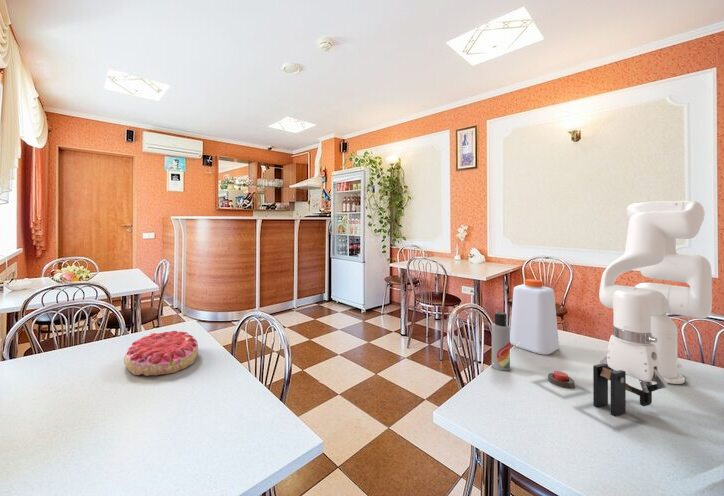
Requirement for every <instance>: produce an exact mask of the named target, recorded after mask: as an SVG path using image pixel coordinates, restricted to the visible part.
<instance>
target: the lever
mask: <svg viewBox="0 0 724 496" xmlns="http://www.w3.org/2000/svg"><path fill="white" fill-rule="evenodd" d="M610 372H613V371H612V370H609V369H606V368H604V367H603V369H602V371H601V374H600V375H601V376H602V377H604V378H605V379H607V380H608V381H610V382H611V374H610ZM626 391H627V392H630V393H632V394H634V395H636V396H639V397H640V391H642V389H640V388H637V387H635V386H632V385H630V384H628V383H627V382H626Z"/></svg>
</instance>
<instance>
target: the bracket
mask: <svg viewBox="0 0 724 496" xmlns="http://www.w3.org/2000/svg"><path fill="white" fill-rule="evenodd" d="M592 366H593V367H592V368H593V372H592V381H593V383H592V385H593V389H592V390H593V391H592V393H593V394H592V398H593V399H592V400H593V401H592V403H593V407H595V408H597V409H599V408H602V407H603V408H604V407H605V406H609V380H607V379H605V378H604V377H602V376H601V375H600V374H601V371H602V369H603V367H604V368H606V369H608V365H607V364H604V363H603V364H601V363H598V364H593V365H592ZM610 374H611V381H610V415H611V416H613V417H616V418H617V417H619V416H623V415H626V414H627V412H626V411H627V409H626V408H627V403H626V402H627V401H626V400H627V397H626V396H627V394H626V393H627V392H626V391H627V390H626V383H627V381H626V380H627V379H626V377H627V375H626V372H625V371H623V370H619V371H614V372H610Z"/></svg>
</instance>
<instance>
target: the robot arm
mask: <svg viewBox="0 0 724 496" xmlns="http://www.w3.org/2000/svg"><path fill="white" fill-rule="evenodd" d="M626 216H627V219H628V224H627V225H628V227H627V232H626V238H625V239H626V240H625V248H624V253H623V254H622V255H621V256H619V257H617V258H616V259H614V260H613V261H612V262H610V264H608V265H607V266H606V268H605V269H604V271H603V272H602V275H601V278H600V279H601V280H600V285H599V291H598V292H599V293H598V294H599V295H598V298H599V301H600V303H601V305H603V306H604V307H606V308H609V309H613V311H612V313H613V314H612V315H613V323H612V324H613V328H612V329H613V332H612V333H613V334H611V335H610V337H609V341H608V345H607V351H606V352H607V353H606V357H604V358H603V359H601V360H600V361H599V364H603V363H604V364H607V365H608V369H609V370H612V371H613V372H614V371H619V370H623V371H625V372H626V376H628V377H632V378H634V379H637V380H638V381H639V384H640V386H641V390H642V391H640V396H639V405H640V406H642V407H647V406H650V405H652V402H653V397H652V396H653V392H655V391H658V390H662V389H666V388H669V387H670V384H672V385H682V384H684V383H686V379H685V377H684V376H683V375H682V374H681V373H679V372H678V371H679V370H678V369H680V368H682V366H683V365H682V363H681V362H680V361H678V360H679V359H678V353H679V352H678V327H677V325H676V323H675V322H674V321H673V319H671V318H670V316H669V315H677V316H683V317H687V318H689V317H690V318H693V319H706V318H709V317H710V316H711V314H712V311H713V271H712V266H711V263H710V261H709V259H708V258H707V257H705V256H703V255H700V254H693V253H692V254H691V253H690V254H689V253H678V252H677V250H676V246H677V245H676V244H677V243H676V242H677V241H676V239H683V240H690V239H694V238H696V237H697V235H698V234H699V232H700V230H701V227H702V225H703V222H704V219H705V209H704V206H703V205H702V203H700V202H698V201H696V200H674V201H673V200H672V201H671V200H670V201H669V200H668V201H642V202H635V203H631V204H629V205H628V206H627V207H626ZM636 269H639V272H640V274H641V276H643V277H645V278H647V279H652V280H659V281H668V282H675V283H684V284H687V285H688V286H681V285H672V284H667V283H659V282H657V283H656V282H640V283H638V284H635V286H629V285H621V284H615V283H616V280H617V278H618V277H619V276H620V275H622V274H624V273H627V272H628V271H632V270H636ZM652 380H653V381H655V382H656V383H653V381H652Z"/></svg>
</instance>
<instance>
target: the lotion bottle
mask: <svg viewBox="0 0 724 496" xmlns="http://www.w3.org/2000/svg"><path fill="white" fill-rule="evenodd" d="M510 328H511V326H509V324H508V315H507V312H505V311H495V312H494V323H491V366H492V367H493V368H494V369H495V370H498V371H505V372H506V371H509V370H511V343H510ZM493 363H494V364H493ZM492 364H493V365H492Z"/></svg>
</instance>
